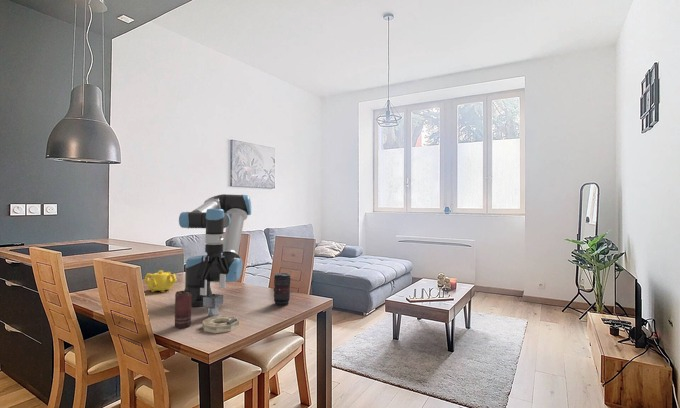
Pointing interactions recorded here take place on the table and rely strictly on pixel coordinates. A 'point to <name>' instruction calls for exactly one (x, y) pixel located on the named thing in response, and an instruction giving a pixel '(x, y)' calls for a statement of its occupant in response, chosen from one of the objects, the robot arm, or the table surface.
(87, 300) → the table surface
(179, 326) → the can
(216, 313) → the bushing
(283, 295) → the camera lens
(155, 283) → the teapot
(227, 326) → the ring
